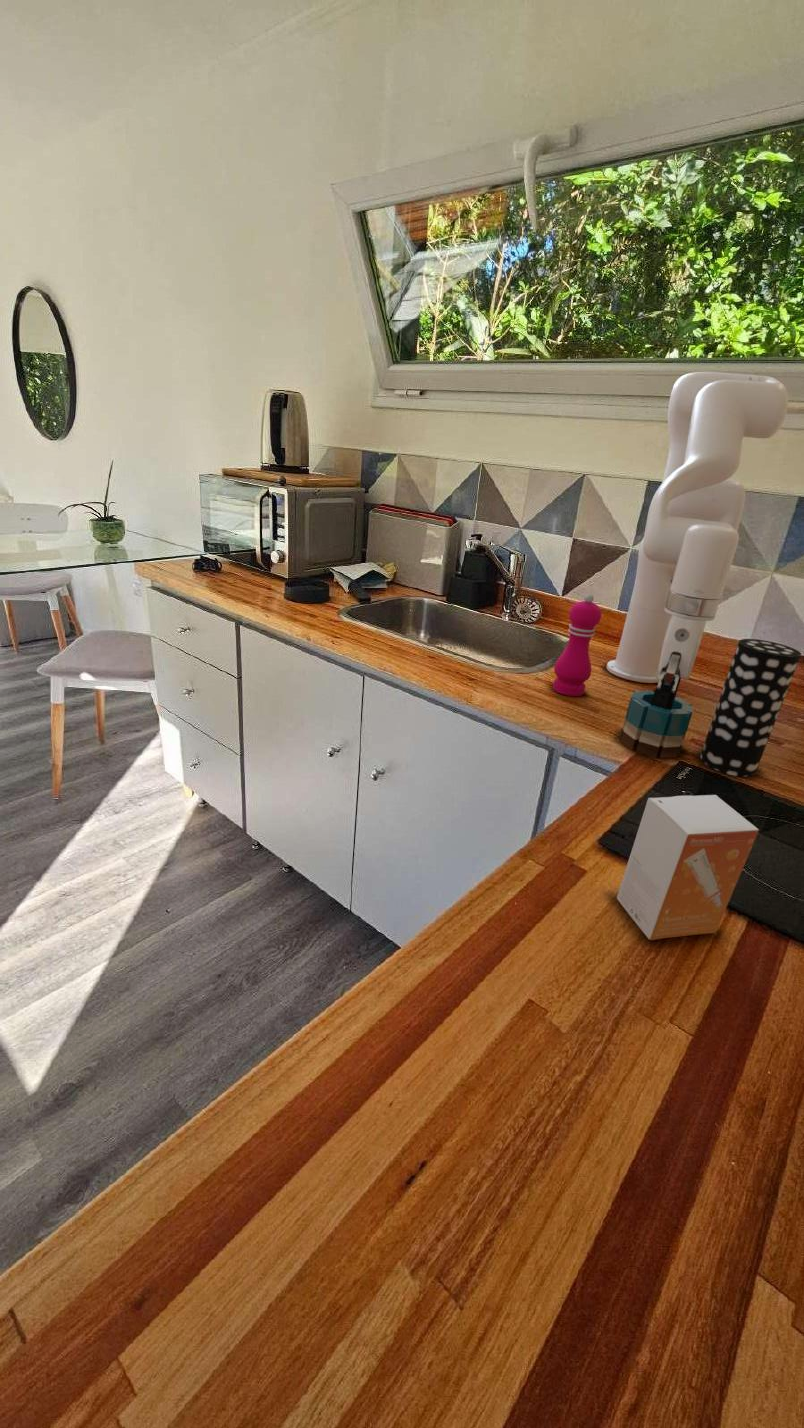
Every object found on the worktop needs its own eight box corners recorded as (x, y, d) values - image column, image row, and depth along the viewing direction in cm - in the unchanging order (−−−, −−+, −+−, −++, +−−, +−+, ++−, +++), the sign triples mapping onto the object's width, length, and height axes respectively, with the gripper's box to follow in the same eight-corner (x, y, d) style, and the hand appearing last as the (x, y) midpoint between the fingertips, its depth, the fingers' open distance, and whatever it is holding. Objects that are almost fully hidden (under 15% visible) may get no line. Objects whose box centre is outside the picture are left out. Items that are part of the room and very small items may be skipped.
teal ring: (630, 706, 106) (636, 686, 104) (688, 721, 102) (695, 700, 100) (621, 725, 98) (627, 702, 96) (684, 741, 94) (691, 719, 92)
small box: (649, 943, 59) (687, 834, 53) (614, 898, 64) (646, 796, 59) (718, 934, 61) (761, 829, 55) (678, 892, 66) (714, 792, 61)
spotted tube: (750, 758, 100) (793, 645, 92) (760, 781, 93) (808, 660, 84) (697, 747, 102) (734, 635, 94) (703, 768, 95) (744, 649, 87)
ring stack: (625, 727, 107) (630, 706, 106) (681, 742, 103) (688, 721, 102) (615, 746, 99) (621, 725, 98) (676, 764, 96) (684, 741, 94)
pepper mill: (587, 699, 118) (611, 600, 110) (550, 693, 119) (571, 595, 111) (584, 687, 124) (607, 592, 116) (549, 681, 125) (569, 587, 117)
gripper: (715, 620, 86) (681, 726, 93) (718, 601, 101) (689, 695, 107) (660, 610, 89) (632, 714, 96) (671, 593, 104) (646, 685, 110)
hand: (662, 704), depth 102 cm, fingers open, 9 cm apart
